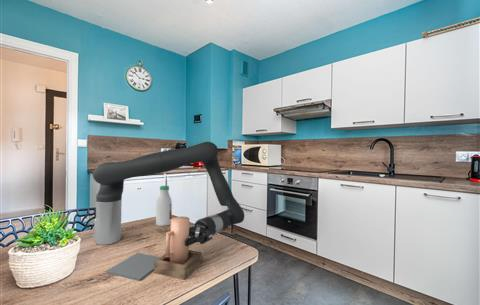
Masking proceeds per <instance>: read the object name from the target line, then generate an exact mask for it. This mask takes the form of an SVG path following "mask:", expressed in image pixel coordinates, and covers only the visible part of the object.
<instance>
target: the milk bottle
mask: <svg viewBox="0 0 480 305" xmlns="http://www.w3.org/2000/svg"><path fill="white" fill-rule="evenodd" d="M169 190H170V186H169V185H160V186H159V194H158V197H157V200H156V206H155V207H156V208H155V225H156V226H158V227H165V226H169V225H170V226H171V219H172V218H173V217H172V214H173V213H172V212H173V211H172V209H173V207H172V206H173V204H172V198H171V196H170V192H169Z"/></svg>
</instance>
